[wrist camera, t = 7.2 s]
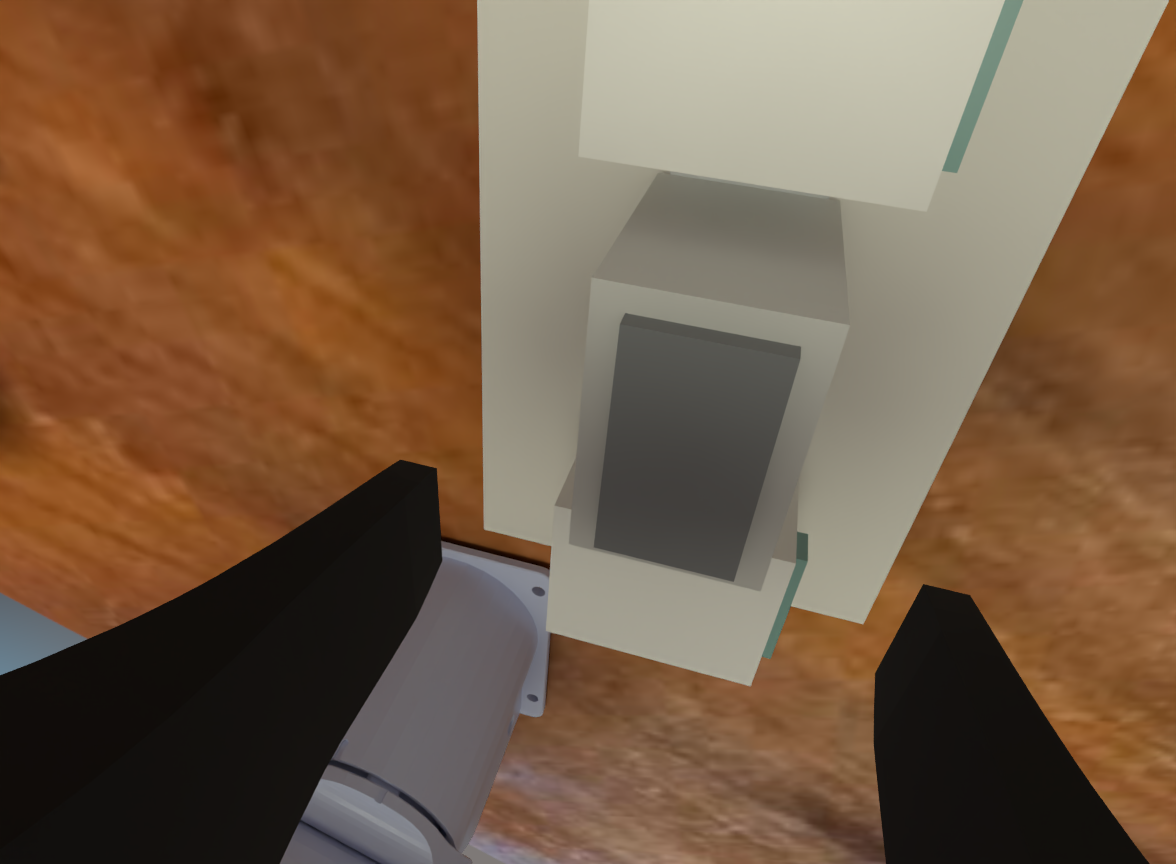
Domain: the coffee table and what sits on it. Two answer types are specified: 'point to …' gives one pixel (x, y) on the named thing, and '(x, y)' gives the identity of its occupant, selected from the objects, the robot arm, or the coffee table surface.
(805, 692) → the coffee table surface
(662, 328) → the block
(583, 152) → the mounted modules
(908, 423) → the board
